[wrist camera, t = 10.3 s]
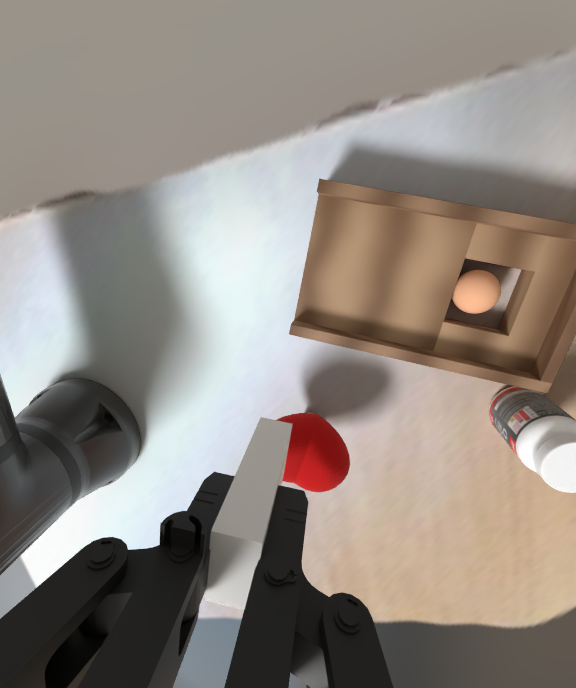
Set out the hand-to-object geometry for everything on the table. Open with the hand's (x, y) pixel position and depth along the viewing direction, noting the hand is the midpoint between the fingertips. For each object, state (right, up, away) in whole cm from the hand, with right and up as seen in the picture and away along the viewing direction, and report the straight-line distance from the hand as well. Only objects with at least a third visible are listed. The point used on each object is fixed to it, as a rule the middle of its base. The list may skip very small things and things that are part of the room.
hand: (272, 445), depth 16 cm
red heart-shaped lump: (+4, -4, +25) cm, 25 cm away
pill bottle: (+25, -2, +20) cm, 32 cm away
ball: (+19, +10, +17) cm, 28 cm away
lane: (+15, +11, +18) cm, 26 cm away
